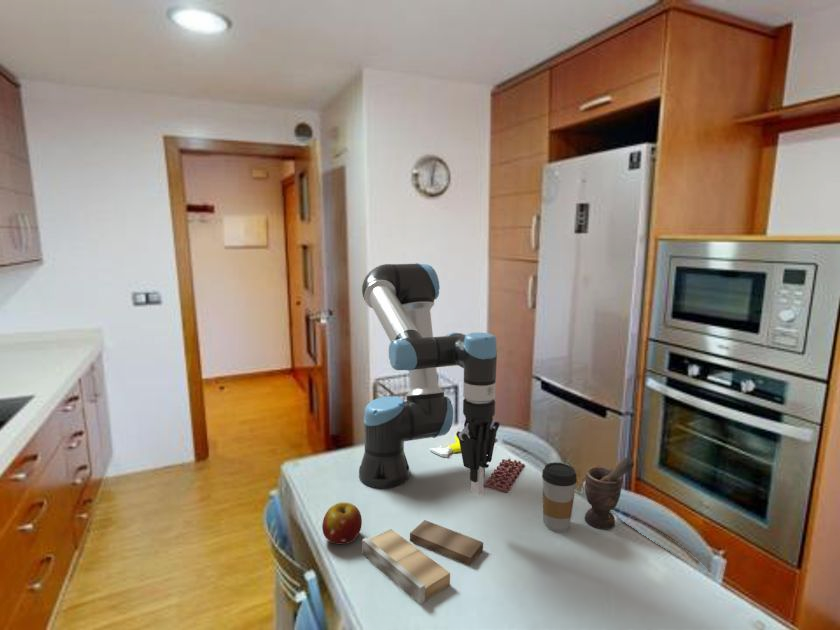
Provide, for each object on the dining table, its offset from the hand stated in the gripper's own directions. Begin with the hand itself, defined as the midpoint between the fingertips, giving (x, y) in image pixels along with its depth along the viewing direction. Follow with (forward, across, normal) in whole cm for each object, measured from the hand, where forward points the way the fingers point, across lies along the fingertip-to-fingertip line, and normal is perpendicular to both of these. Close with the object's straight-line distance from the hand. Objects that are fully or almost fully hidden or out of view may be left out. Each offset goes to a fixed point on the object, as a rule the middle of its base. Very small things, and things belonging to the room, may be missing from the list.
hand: (477, 492), depth 119 cm
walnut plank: (+11, -10, +1) cm, 14 cm away
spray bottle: (+10, +33, +37) cm, 50 cm away
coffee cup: (+10, +17, -11) cm, 23 cm away
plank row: (+10, -22, +1) cm, 24 cm away
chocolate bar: (+11, +27, +13) cm, 32 cm away
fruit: (+10, -27, +18) cm, 34 cm away
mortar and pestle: (+10, +27, -19) cm, 35 cm away
